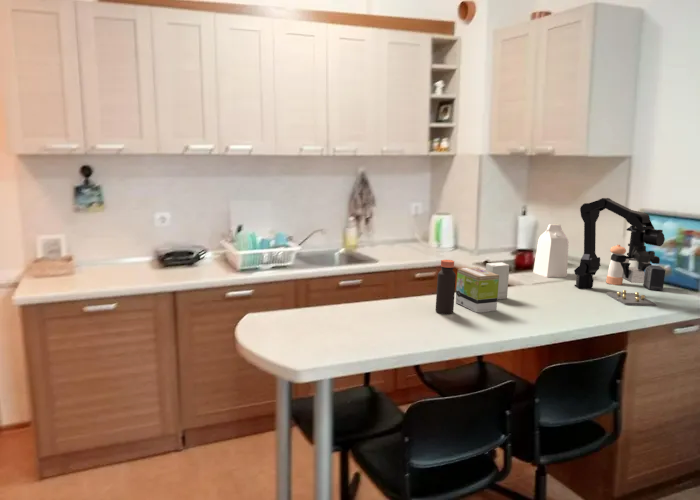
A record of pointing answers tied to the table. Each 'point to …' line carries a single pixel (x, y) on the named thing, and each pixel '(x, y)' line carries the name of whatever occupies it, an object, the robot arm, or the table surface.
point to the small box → (654, 278)
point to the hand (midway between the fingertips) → (632, 278)
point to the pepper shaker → (615, 267)
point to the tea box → (477, 289)
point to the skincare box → (500, 277)
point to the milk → (552, 253)
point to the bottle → (445, 288)
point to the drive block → (634, 275)
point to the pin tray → (631, 298)
